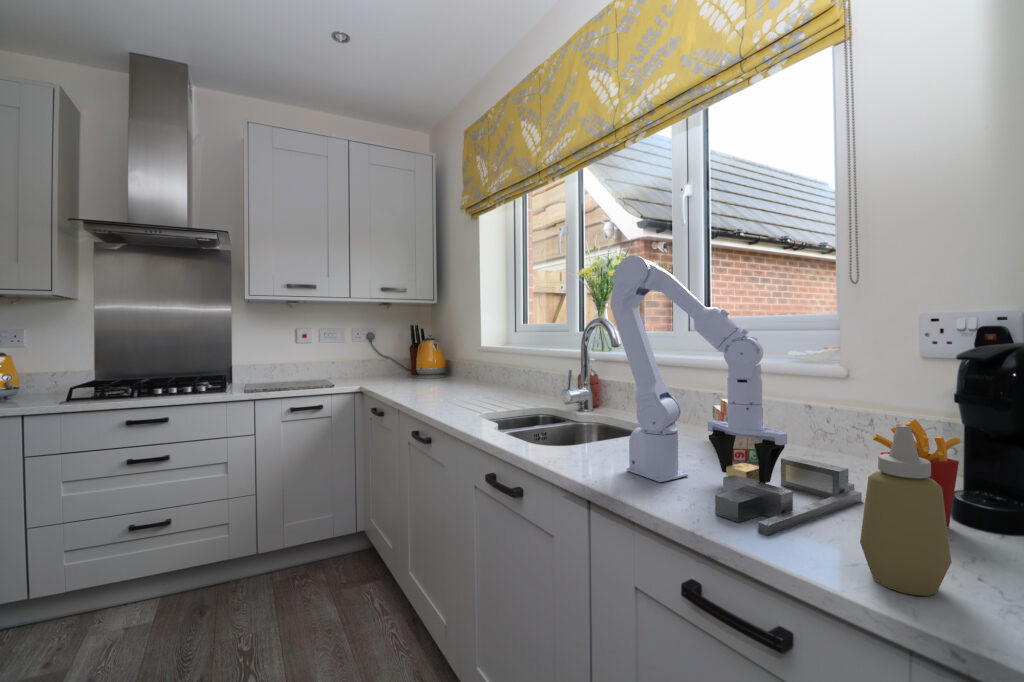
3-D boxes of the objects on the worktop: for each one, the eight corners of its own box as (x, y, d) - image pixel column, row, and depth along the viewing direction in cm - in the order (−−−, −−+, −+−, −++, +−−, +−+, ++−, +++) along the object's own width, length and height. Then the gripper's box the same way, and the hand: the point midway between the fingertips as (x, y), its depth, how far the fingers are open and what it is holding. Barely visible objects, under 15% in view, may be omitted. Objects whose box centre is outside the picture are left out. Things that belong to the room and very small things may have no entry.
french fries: (961, 529, 69) (962, 425, 69) (912, 534, 68) (912, 428, 68) (903, 507, 78) (903, 414, 78) (858, 511, 77) (858, 417, 76)
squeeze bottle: (843, 568, 59) (843, 421, 58) (904, 564, 59) (904, 418, 59) (902, 606, 51) (902, 435, 50) (972, 601, 51) (973, 433, 51)
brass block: (726, 488, 89) (726, 466, 89) (743, 483, 92) (743, 462, 91) (746, 494, 86) (746, 471, 85) (763, 489, 88) (763, 467, 88)
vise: (697, 509, 78) (697, 478, 78) (796, 480, 92) (796, 454, 92) (768, 536, 68) (767, 500, 68) (867, 498, 82) (867, 469, 82)
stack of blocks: (712, 440, 127) (712, 393, 127) (738, 440, 126) (738, 393, 125) (732, 462, 106) (732, 406, 106) (763, 463, 105) (763, 406, 104)
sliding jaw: (699, 508, 79) (699, 483, 79) (734, 497, 83) (734, 474, 83) (756, 529, 70) (756, 502, 70) (793, 516, 75) (793, 491, 74)
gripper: (797, 405, 84) (797, 483, 84) (723, 396, 96) (724, 464, 97) (773, 409, 80) (773, 490, 81) (700, 399, 93) (700, 469, 93)
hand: (745, 476), depth 88 cm, fingers open, 7 cm apart
